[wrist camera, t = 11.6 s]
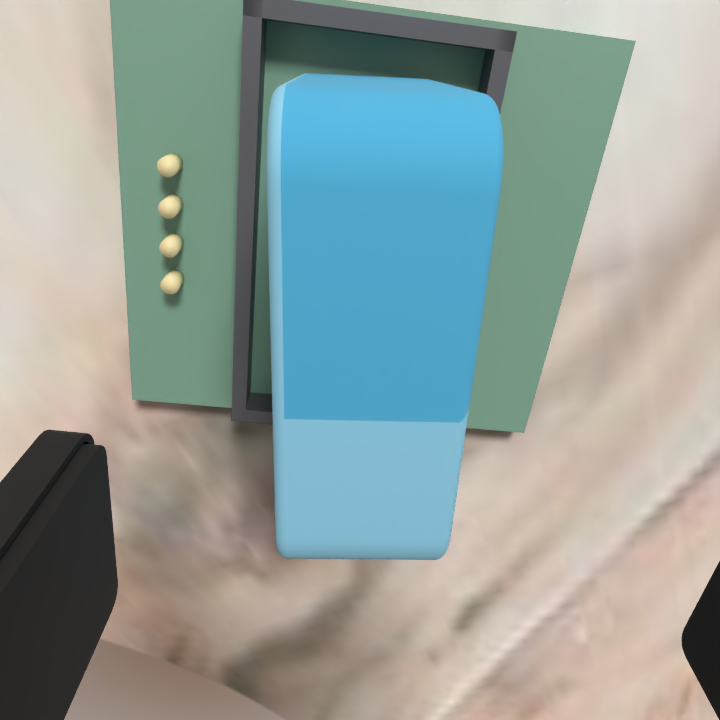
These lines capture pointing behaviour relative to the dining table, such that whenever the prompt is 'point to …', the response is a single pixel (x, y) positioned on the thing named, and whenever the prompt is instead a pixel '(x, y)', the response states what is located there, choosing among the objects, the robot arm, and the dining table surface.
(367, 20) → the circuit board
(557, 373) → the dining table surface
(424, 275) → the data package
